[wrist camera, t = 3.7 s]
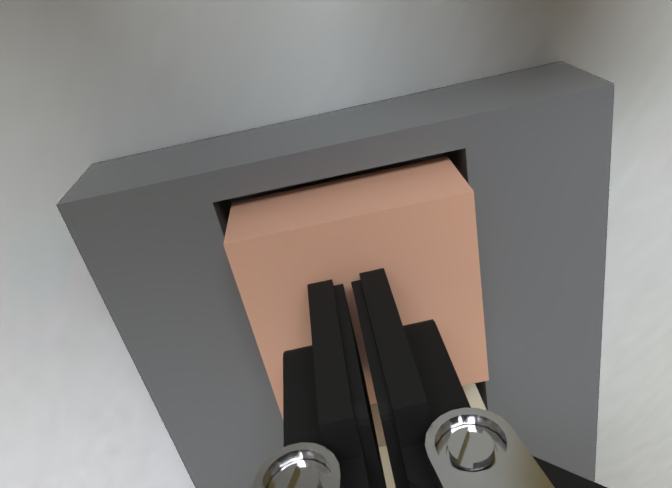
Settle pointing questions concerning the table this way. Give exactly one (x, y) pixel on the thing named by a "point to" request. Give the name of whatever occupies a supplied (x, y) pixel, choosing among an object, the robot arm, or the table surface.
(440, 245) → the terracotta key
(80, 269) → the table surface
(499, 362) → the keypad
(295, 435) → the robot arm
